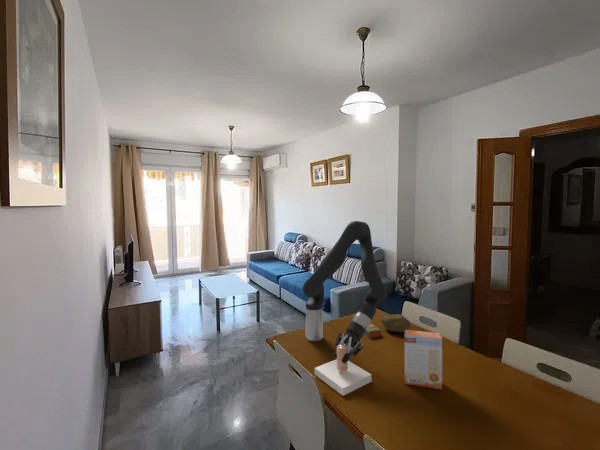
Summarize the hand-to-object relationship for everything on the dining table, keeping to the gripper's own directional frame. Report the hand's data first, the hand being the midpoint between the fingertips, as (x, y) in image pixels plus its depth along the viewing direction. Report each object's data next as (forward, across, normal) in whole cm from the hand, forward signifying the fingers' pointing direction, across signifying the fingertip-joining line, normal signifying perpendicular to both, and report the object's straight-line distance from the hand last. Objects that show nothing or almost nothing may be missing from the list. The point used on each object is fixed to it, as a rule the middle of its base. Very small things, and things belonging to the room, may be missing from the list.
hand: (339, 359), depth 124 cm
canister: (+2, 0, +4) cm, 5 cm away
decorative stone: (-35, -17, +48) cm, 62 cm away
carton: (-26, -26, +39) cm, 53 cm away
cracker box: (-12, +22, +24) cm, 35 cm away
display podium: (+5, 0, +7) cm, 9 cm away
